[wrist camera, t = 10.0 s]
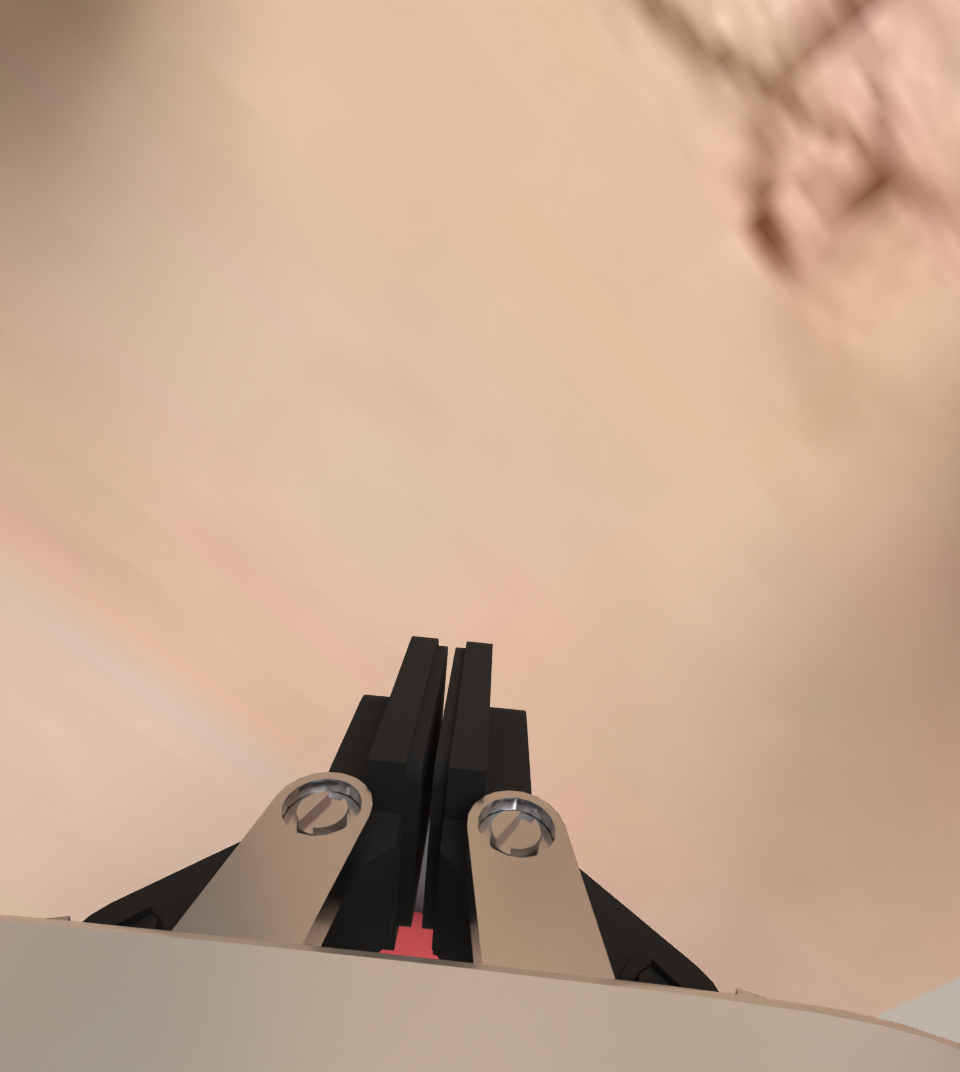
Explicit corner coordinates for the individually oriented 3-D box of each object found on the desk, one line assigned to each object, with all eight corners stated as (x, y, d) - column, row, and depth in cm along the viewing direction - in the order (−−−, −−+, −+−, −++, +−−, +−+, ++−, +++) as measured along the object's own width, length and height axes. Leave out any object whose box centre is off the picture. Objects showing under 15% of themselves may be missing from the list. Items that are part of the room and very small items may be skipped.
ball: (456, 1066, 28) (466, 946, 33) (441, 1008, 26) (454, 888, 31) (351, 1062, 29) (376, 945, 34) (326, 1005, 27) (357, 888, 32)
